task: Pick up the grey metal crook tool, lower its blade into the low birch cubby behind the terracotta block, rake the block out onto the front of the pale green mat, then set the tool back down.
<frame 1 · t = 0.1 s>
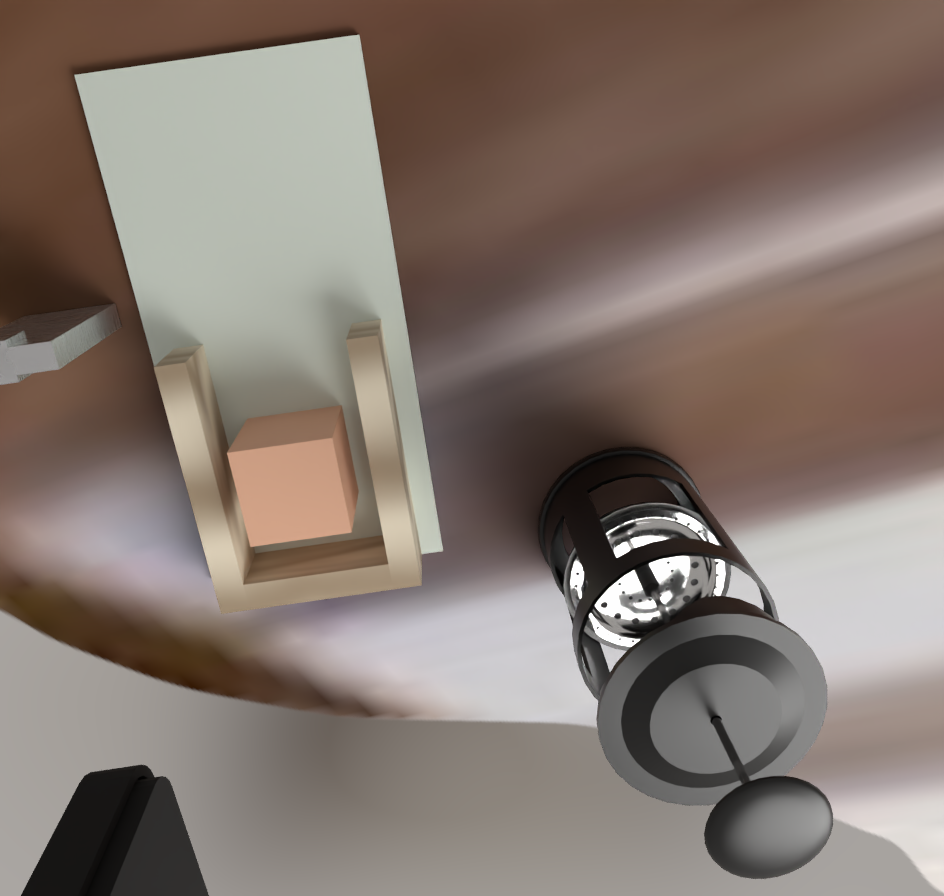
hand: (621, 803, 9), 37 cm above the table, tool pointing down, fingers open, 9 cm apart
french press: (625, 527, 49), on the table
block: (297, 473, 44), in the cubby, touching mat
cubby: (299, 469, 45), on the mat
mat: (279, 336, 44), on the table
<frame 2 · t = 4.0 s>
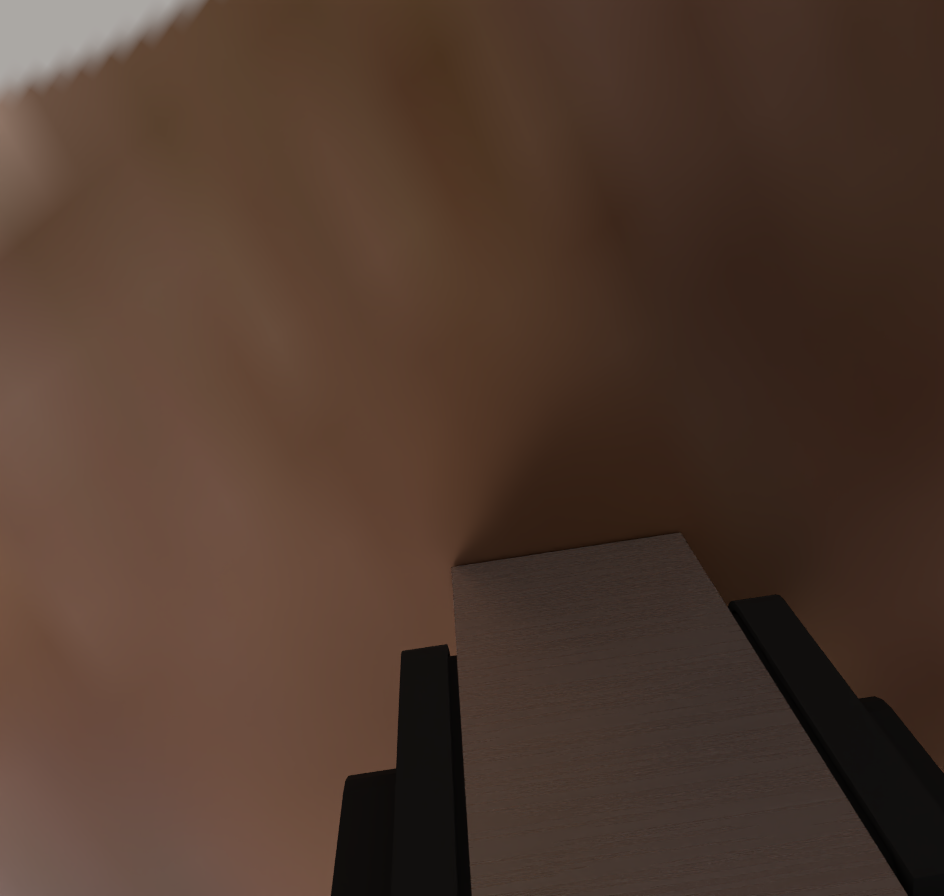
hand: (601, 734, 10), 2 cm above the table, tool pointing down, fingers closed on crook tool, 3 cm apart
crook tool: (577, 647, 12), on the table, touching gripper
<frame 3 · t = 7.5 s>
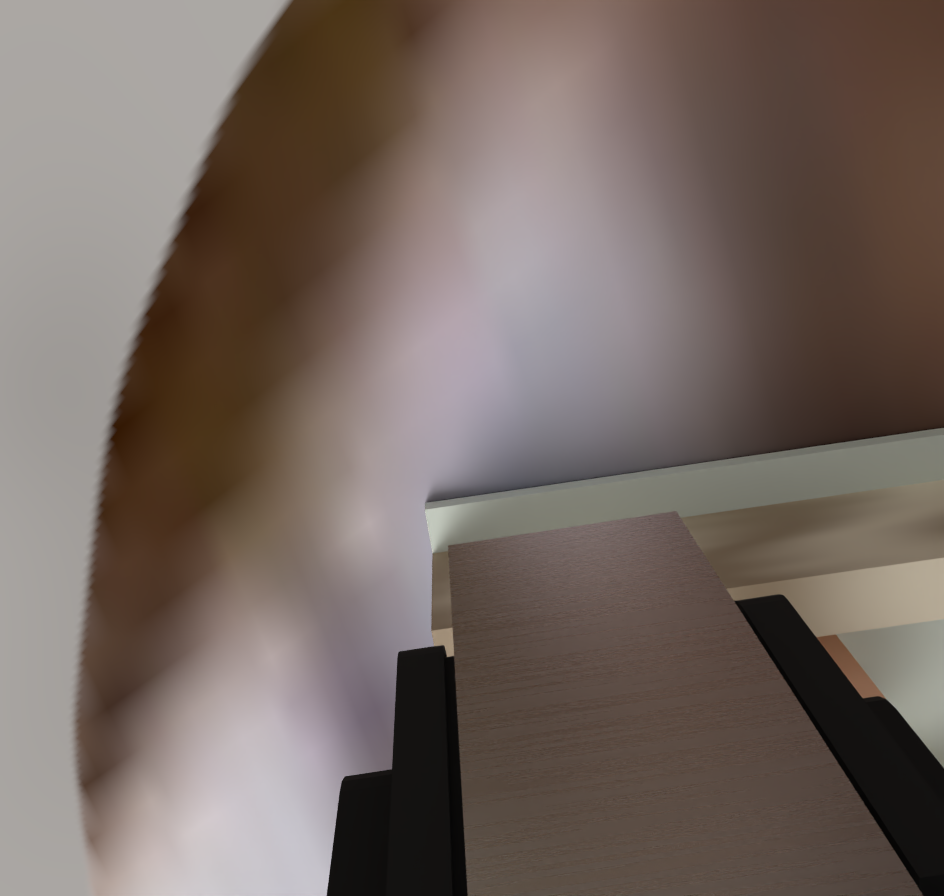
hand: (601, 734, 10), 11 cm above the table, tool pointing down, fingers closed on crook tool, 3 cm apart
block: (746, 756, 21), in the cubby, touching mat
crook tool: (573, 626, 12), point 9 cm above the table, touching gripper
cubby: (734, 735, 21), on the mat
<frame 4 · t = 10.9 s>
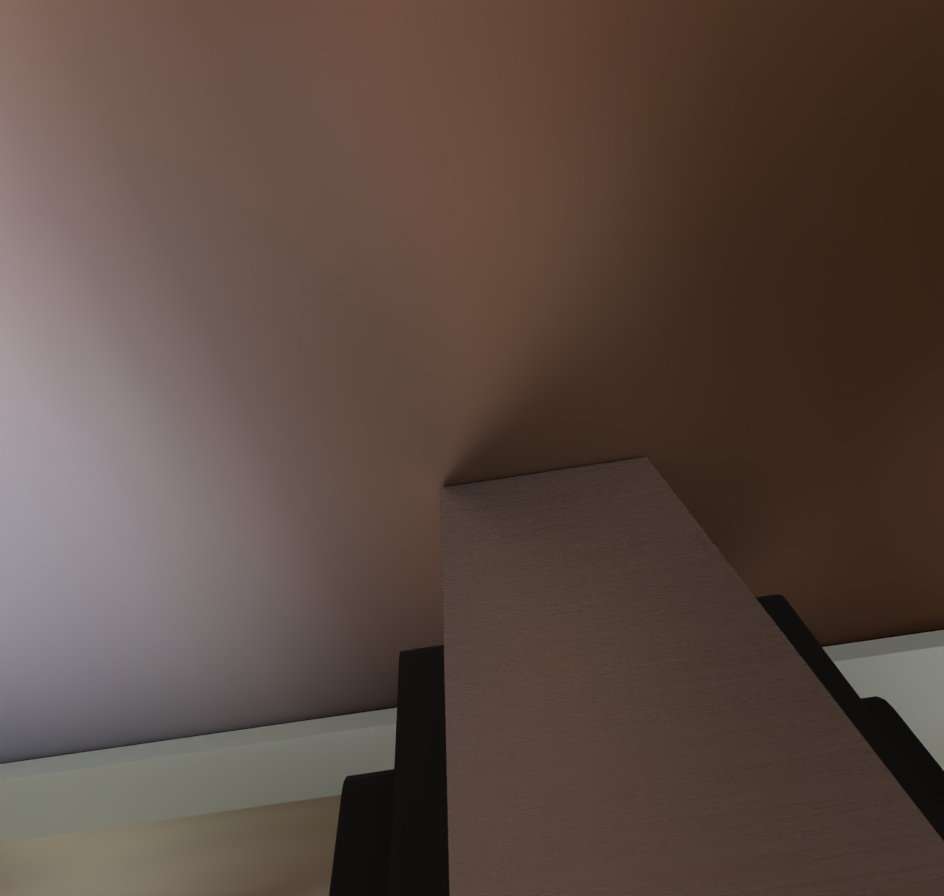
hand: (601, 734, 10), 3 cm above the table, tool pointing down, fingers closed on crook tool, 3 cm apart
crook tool: (555, 566, 13), on the table, touching block, gripper
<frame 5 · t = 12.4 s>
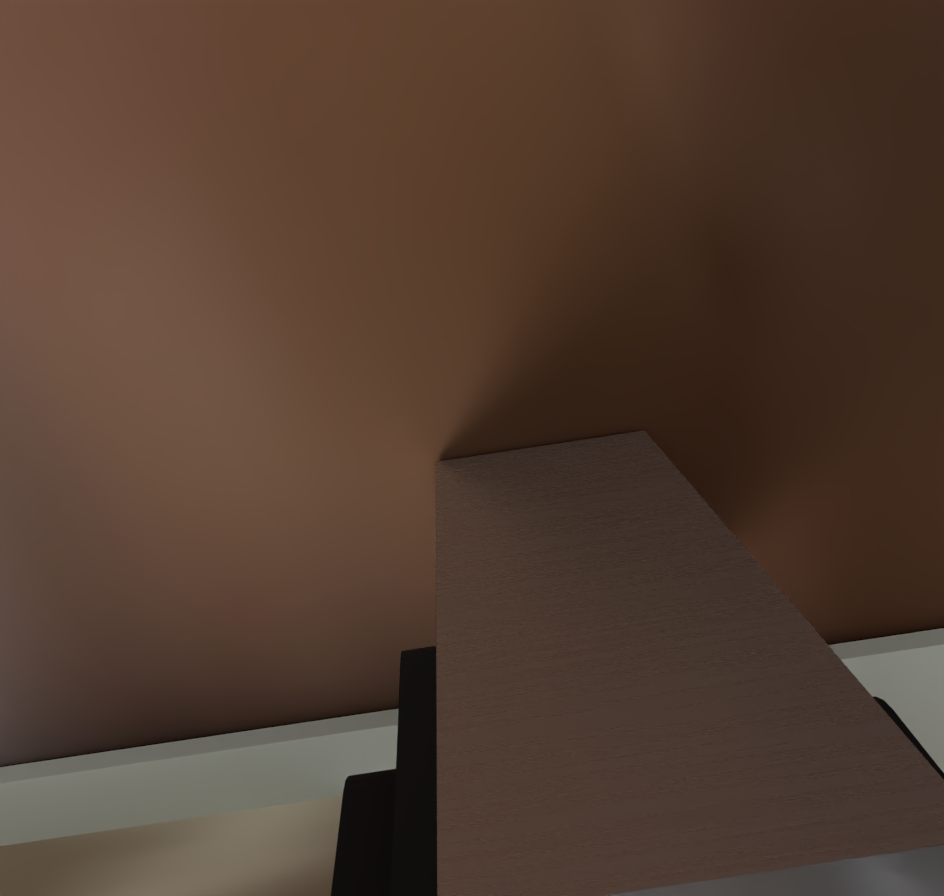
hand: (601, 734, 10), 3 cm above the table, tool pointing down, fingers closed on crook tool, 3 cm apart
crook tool: (552, 542, 13), on the table, touching block, gripper
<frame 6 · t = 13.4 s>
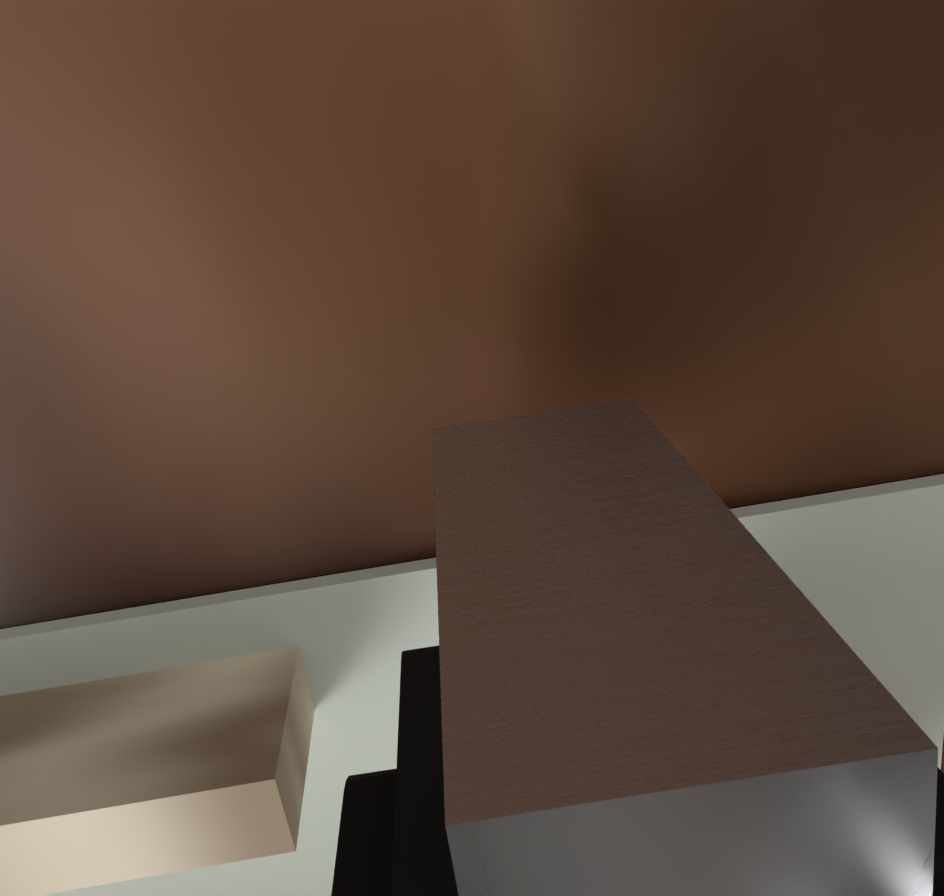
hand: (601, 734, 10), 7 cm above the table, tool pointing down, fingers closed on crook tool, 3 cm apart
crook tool: (543, 506, 13), point 3 cm above the table, touching gripper
mat: (341, 838, 19), on the table
when the fingers open (4 cm above the table, at t = 17.9 s): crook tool stays where it is, on the table.
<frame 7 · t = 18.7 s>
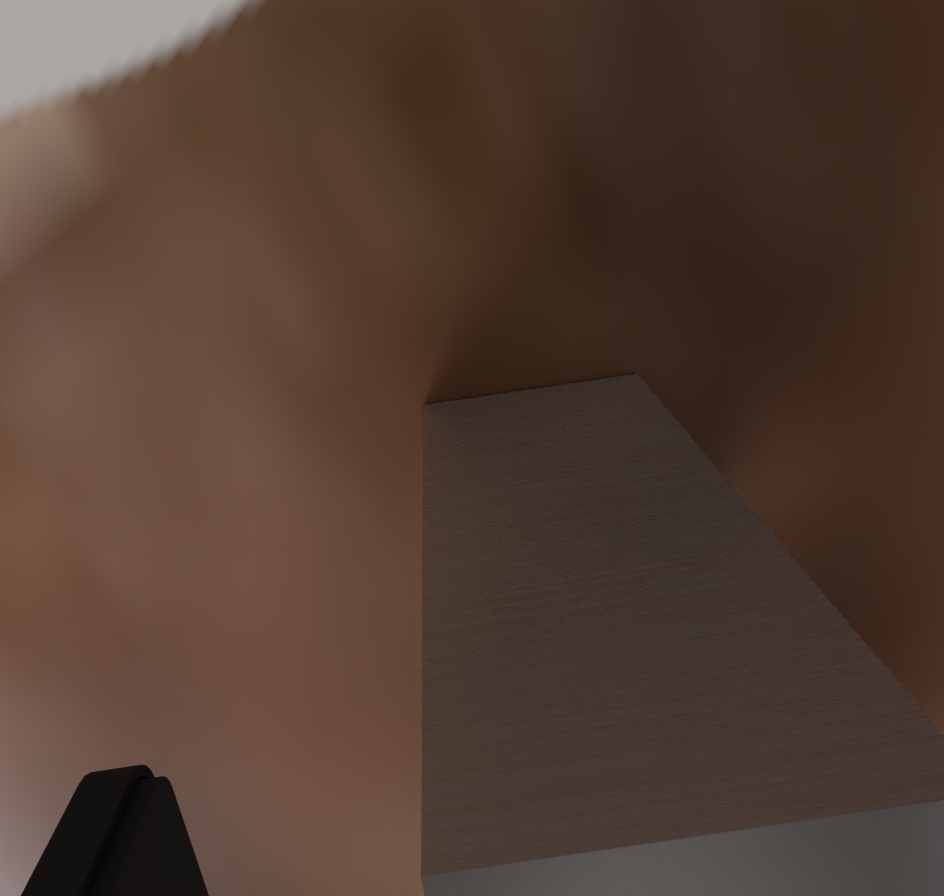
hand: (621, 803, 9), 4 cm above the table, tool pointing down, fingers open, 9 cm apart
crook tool: (541, 487, 12), on the table
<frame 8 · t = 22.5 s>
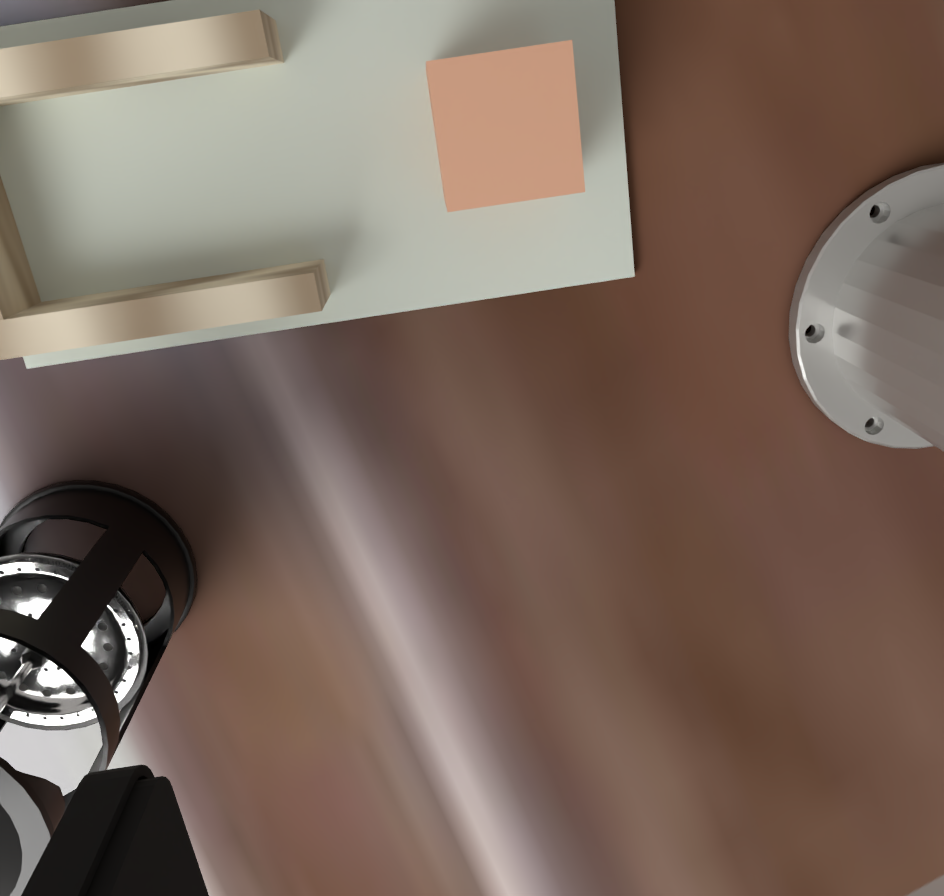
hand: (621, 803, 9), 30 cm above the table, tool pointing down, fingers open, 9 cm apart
french press: (92, 575, 42), on the table
block: (501, 128, 32), on the mat
cubby: (125, 193, 33), on the mat
mat: (300, 165, 35), on the table
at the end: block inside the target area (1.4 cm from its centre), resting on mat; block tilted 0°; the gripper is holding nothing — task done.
